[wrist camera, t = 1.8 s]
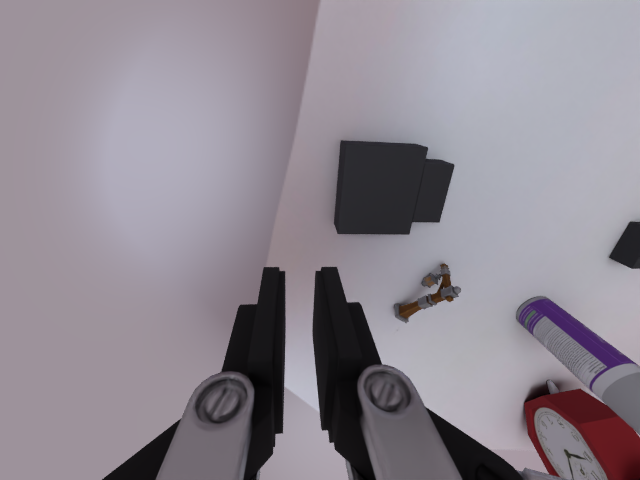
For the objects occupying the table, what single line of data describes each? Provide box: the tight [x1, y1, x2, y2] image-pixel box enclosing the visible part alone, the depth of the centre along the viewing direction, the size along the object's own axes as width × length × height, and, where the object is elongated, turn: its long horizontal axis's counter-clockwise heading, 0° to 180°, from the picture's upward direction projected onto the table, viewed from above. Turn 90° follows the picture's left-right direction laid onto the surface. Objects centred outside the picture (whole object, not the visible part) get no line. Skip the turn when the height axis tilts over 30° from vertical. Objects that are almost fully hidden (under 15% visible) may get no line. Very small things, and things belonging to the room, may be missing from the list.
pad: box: [334, 141, 454, 234], centre depth 25 cm, size 8×10×2 cm
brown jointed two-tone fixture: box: [395, 263, 461, 323], centre depth 31 cm, size 2×8×4 cm, turn 146°
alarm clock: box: [524, 380, 640, 480], centre depth 36 cm, size 15×9×20 cm, turn 9°
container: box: [516, 297, 640, 435], centre depth 29 cm, size 5×5×15 cm
